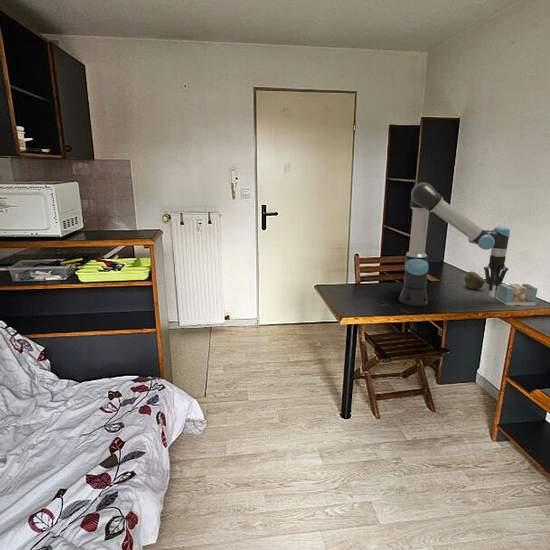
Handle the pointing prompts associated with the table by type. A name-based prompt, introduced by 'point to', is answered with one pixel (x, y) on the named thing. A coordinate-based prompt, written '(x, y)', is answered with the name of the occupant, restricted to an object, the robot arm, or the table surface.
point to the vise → (529, 297)
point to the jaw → (505, 292)
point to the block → (518, 292)
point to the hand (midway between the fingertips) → (491, 295)
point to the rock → (474, 281)
